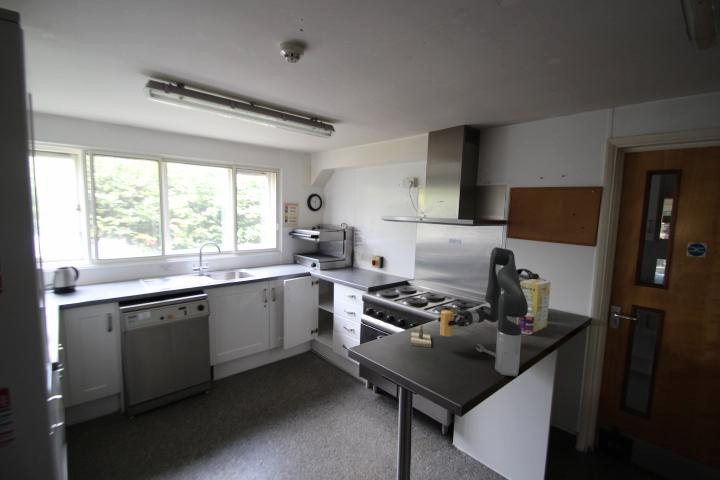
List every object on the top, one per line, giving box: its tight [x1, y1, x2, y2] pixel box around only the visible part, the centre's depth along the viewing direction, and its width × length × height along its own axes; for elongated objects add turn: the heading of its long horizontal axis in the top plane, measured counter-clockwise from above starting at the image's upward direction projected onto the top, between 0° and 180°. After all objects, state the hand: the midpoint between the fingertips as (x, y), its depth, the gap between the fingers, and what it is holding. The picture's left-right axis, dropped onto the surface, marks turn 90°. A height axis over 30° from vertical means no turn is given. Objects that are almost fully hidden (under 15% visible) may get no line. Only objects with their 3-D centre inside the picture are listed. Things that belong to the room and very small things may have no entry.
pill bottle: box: [518, 308, 534, 336], centre depth 182 cm, size 8×8×14 cm
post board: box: [410, 324, 432, 348], centre depth 164 cm, size 14×10×8 cm
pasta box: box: [516, 279, 551, 333], centre depth 193 cm, size 18×10×28 cm, turn 129°
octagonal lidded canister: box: [439, 309, 455, 337], centre depth 154 cm, size 6×6×11 cm
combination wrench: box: [475, 343, 496, 358], centre depth 148 cm, size 4×1×20 cm
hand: (443, 321), depth 152 cm, fingers closed on octagonal lidded canister, 6 cm apart
